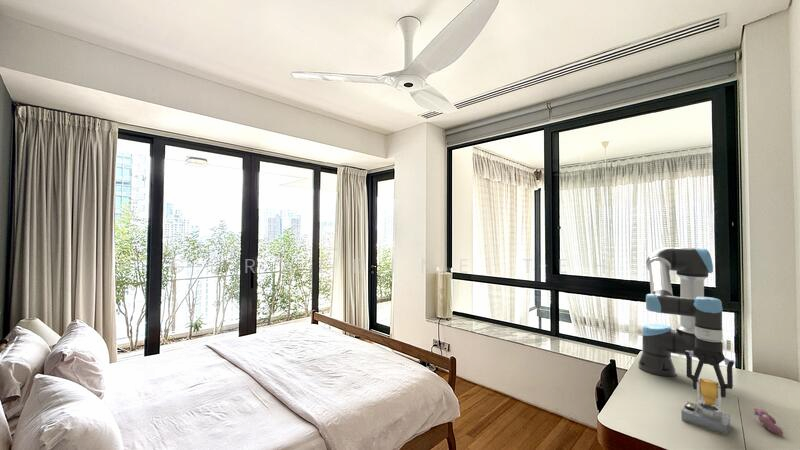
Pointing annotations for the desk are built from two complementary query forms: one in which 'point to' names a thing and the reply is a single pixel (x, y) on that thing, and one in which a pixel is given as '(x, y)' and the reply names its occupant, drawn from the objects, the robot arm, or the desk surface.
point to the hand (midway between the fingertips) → (709, 401)
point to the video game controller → (767, 421)
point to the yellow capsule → (709, 391)
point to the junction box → (706, 417)
